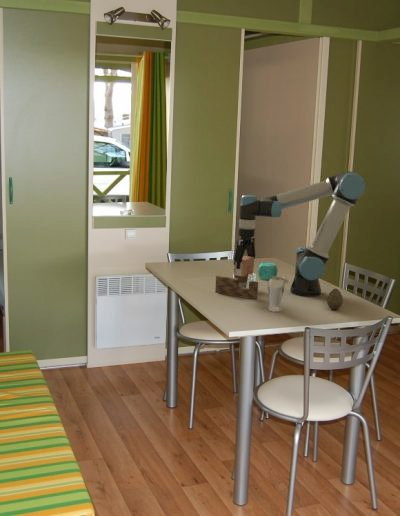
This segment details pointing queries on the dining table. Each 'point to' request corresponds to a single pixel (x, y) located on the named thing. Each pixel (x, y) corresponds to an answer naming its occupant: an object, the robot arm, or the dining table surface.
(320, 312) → the dining table surface
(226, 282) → the slotted board
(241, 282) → the coffee cup
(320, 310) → the dining table surface
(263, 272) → the decorative dice
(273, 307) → the beer glass
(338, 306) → the decorative egg
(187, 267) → the dining table surface
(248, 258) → the notched block
